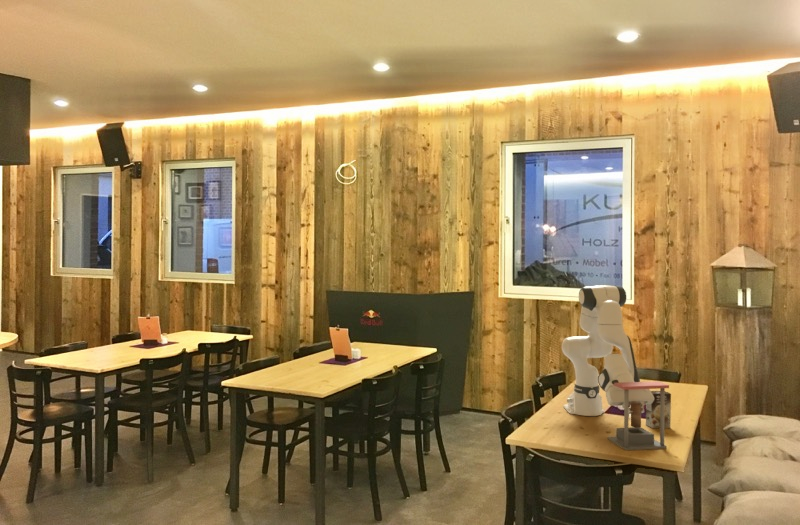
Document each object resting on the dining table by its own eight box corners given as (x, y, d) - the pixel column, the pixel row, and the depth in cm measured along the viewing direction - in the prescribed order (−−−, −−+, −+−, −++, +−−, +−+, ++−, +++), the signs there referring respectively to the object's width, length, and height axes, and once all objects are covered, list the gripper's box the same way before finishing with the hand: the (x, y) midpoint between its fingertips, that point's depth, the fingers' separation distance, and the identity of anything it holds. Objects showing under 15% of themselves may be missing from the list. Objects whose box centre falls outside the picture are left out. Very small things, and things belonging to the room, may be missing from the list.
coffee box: (651, 428, 283) (651, 393, 283) (645, 424, 289) (645, 390, 289) (671, 428, 283) (671, 393, 283) (664, 424, 290) (664, 390, 289)
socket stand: (605, 439, 266) (605, 379, 266) (648, 437, 269) (648, 377, 269) (623, 450, 251) (623, 386, 250) (668, 448, 254) (669, 385, 253)
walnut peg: (628, 425, 261) (628, 402, 261) (635, 424, 263) (635, 401, 263) (636, 427, 258) (636, 404, 258) (643, 426, 259) (642, 403, 259)
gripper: (644, 388, 273) (656, 415, 263) (600, 389, 270) (611, 417, 260) (649, 380, 269) (662, 407, 259) (605, 381, 266) (616, 409, 256)
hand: (636, 412), depth 260 cm, fingers closed on walnut peg, 4 cm apart
